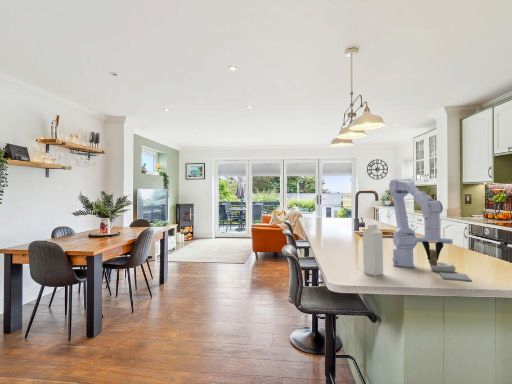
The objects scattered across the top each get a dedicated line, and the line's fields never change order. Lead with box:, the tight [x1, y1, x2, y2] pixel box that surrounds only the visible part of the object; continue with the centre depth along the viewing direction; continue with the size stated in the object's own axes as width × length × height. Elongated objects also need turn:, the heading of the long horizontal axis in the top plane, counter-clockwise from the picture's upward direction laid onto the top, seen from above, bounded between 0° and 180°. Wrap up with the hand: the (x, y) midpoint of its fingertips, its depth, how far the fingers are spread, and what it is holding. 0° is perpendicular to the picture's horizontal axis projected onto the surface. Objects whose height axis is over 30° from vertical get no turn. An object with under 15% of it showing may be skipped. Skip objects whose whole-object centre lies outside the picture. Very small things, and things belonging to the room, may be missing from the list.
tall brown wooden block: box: [428, 248, 438, 266], centre depth 127 cm, size 2×6×6 cm, turn 156°
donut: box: [429, 261, 457, 273], centre depth 136 cm, size 10×4×10 cm
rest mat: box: [438, 272, 473, 282], centre depth 125 cm, size 10×10×1 cm
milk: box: [362, 224, 384, 277], centre depth 133 cm, size 6×6×22 cm
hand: (432, 259), depth 127 cm, fingers closed on tall brown wooden block, 2 cm apart
